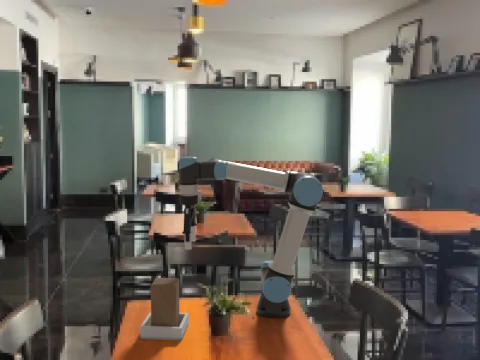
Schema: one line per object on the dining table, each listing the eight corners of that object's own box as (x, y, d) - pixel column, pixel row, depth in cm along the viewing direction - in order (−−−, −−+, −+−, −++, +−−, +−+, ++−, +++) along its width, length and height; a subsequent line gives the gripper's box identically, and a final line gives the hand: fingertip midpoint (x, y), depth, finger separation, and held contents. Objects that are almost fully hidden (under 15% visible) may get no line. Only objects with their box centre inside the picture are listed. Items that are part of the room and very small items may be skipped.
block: (175, 334, 212) (175, 285, 209) (150, 333, 212) (150, 284, 210) (179, 324, 222) (179, 277, 219) (155, 324, 222) (155, 276, 220)
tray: (188, 324, 224) (188, 313, 224) (181, 340, 208) (181, 328, 208) (150, 323, 226) (150, 311, 225) (140, 338, 210) (140, 326, 209)
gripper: (184, 190, 233) (185, 238, 236) (175, 199, 209) (176, 252, 211) (201, 190, 233) (202, 238, 236) (194, 199, 208) (195, 252, 211)
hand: (190, 245), depth 223 cm, fingers open, 13 cm apart
